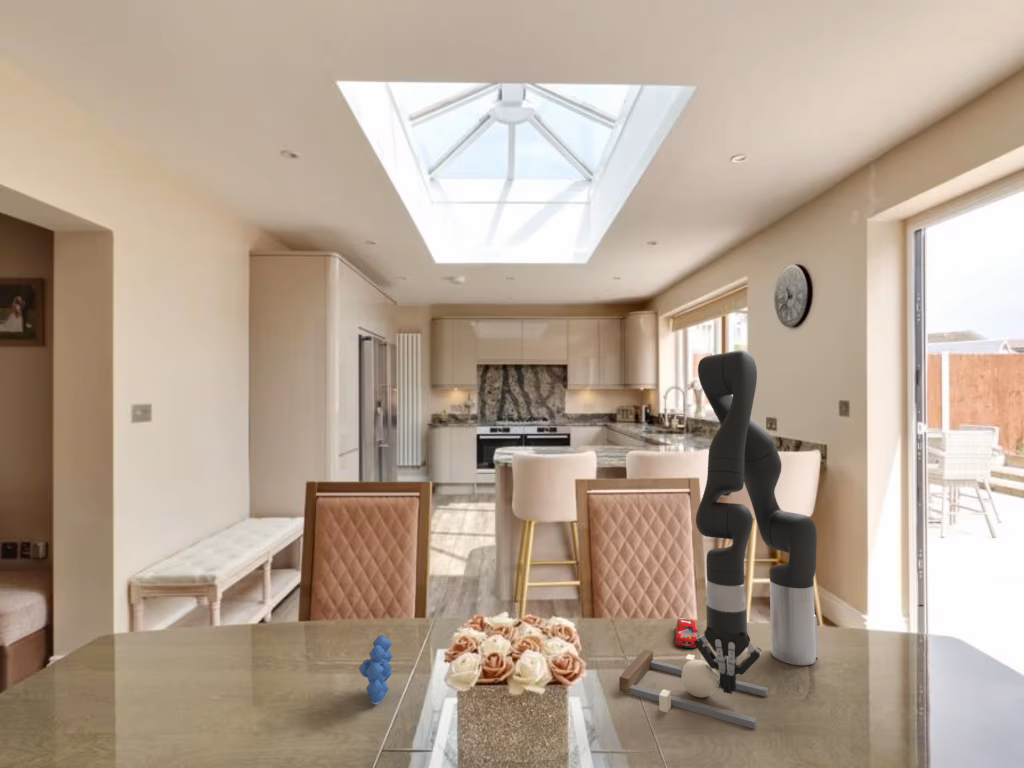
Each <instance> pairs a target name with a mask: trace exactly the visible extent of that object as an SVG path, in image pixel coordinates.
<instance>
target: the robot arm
mask: <svg viewBox="0 0 1024 768" xmlns="http://www.w3.org/2000/svg"><path fill="white" fill-rule="evenodd" d="M757 369H758V368H757V364H756V361H755V359H754V357H753V356H752V354H751V353H750V352H748V351H747V350H743V349H741V350H733V351H729V352H728V351H727V352H724V353H718V354H711V355H707V356H703V358H701V359H700V360H699V362H698V366H697V376H698V381H699V383H700V386H701V388H702V392H703V393H704V395H705V397H706V398H707V400H708V402H709V404H710V406H711V408H712V411H713V412H714V415H716V418H717V420H718V422H719V424H720V427H719V429H718V430H717V431H716V433H715V435H714V436H713V439H712V441H711V443H710V445H709V450H708V457H707V459H708V460H707V476H706V483H705V488H704V491H703V495H702V498H701V501H700V502H699V505H698V507H697V512H696V515H695V524H696V528H697V530H698V531H699V533H700V534H701V536H703V537H708V538H714V539H715V538H716V539H725V540H726V539H727V540H732V543H731V546H726V547H720V548H719V547H717V548H713V549H710V550H708V552H707V554H706V587H705V607H706V609H705V610H706V611H705V613H706V614H705V615H706V629H705V630H704V633H703V634H702V635H697V638H696V639H695V641H694V644H695V646H696V647H695V648H697V650H698V651H699V653H700V654H701V655H702V657H703V659H704V660H705V662H706V663H708V664H709V666H710V667H711V668H713V669H714V670H715V669H716V670H717V671H718V672H719V676H720V685H719V687H720V689H721V690H723V691H722V692H723V693H726V694H730V695H732V693H733V692H735V690H736V689H735V688H736V680H737V675H739V676H741V675H744V674H745V673H746V672H747V671H748V670H749V669H750V668H751V667H752V665H754V664H755V663H756V662H757V660H758V659H759V658H760V656H761V654H762V649H761V648H760V647H756V646H755V645H754V644H753V643H751V638H750V636H749V634H748V623H747V622H748V619H747V616H748V615H747V592H746V584H745V557H746V550H747V545H748V541H749V538H750V535H751V532H752V529H753V528H752V527H753V523H754V521H753V520H754V518H753V514H754V516H755V520H756V523H757V528H758V530H759V534H760V536H761V539H762V541H763V542H764V543H765V545H766V546H767V547H769V548H770V549H773V550H776V551H780V552H783V553H788V562H787V563H779V564H776V565H773V566H771V567H770V568H769V598H770V600H769V601H770V604H769V605H770V608H769V609H770V643H771V644H770V645H771V646H770V648H771V651H770V652H771V655H772V657H774V658H775V659H777V660H778V661H780V662H783V663H786V664H789V665H794V666H810V665H813V664H815V663H816V661H817V659H816V658H818V657H819V651H818V650H819V649H818V648H819V647H818V644H819V643H818V618H817V615H816V614H815V613H816V612H815V585H814V583H815V581H814V579H815V574H816V569H817V544H818V543H817V542H818V541H817V540H818V538H817V537H818V535H817V527H816V524H815V522H814V520H813V518H811V517H810V516H808V515H806V514H800V513H795V512H791V511H790V512H789V511H784V510H782V509H781V507H780V506H779V503H778V501H777V498H776V495H775V491H776V487H777V484H778V482H779V478H780V475H781V473H782V467H783V466H782V460H781V457H780V455H779V451H778V448H777V447H776V444H775V442H774V438H773V437H772V436H771V434H769V432H768V431H767V430H766V429H765V428H764V427H763V426H761V425H760V424H759V423H758V422H757V421H756V420H755V419H753V418H752V417H751V415H752V410H753V407H754V405H753V404H754V399H755V393H756V390H757V380H758V370H757ZM744 486H745V488H746V491H747V494H748V497H749V499H750V502H751V506H752V509H753V512H754V513H753V514H752V513H751V510H750V509H749V508H748V507H747V506H746V505H745V504H742V503H733V502H731V503H729V502H718V500H719V499H720V497H721V496H723V495H725V494H730V493H737V492H740V491H742V490H743V488H744ZM709 645H710V646H709ZM710 647H711V648H712V649H713V651H714V652H715V653H716V655H715V653H714V652H713V651H712V649H711V648H710ZM745 650H747V651H746V655H747V656H746V657H745V658H744V660H743V661H741V663H739V664H738V657H739V656H740V655H741V654H742V653H743V652H744V651H745Z"/></svg>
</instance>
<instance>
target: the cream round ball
mask: <svg viewBox="0 0 1024 768" xmlns="http://www.w3.org/2000/svg"><path fill="white" fill-rule="evenodd" d="M682 667H683V669H682V674H681V675H680V677H681V683H682V686H683V688H684V689H685V690H686V692H687V693H688V694H690V695H692V696H693V697H696V698H706V697H709V696H711V695H712V694H714V693H715V692H716V691H717V690H718V689H719V687H720V685H719V678H718V676H719V675H718V674H717V672H716V670H715V668H711V667H710V666H709V664H708V663H707V661H704V660H702V659H695V660H691V661H688V662H687V663H686V664H684V665H683V666H682Z"/></svg>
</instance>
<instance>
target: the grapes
mask: <svg viewBox="0 0 1024 768" xmlns="http://www.w3.org/2000/svg"><path fill="white" fill-rule="evenodd" d="M372 644H373V647H372V649H371V650H370V651H369V653H368V655H369V659H368V658H367V659H365V660H364V661H363V662H362V663H361V664H360V666H359V667H358V669H359V672H360V674H361V676H363V677H365V678H366V679H367V680H368V684H367V686H366V687H365V688H366V691H367V693H368V698H369V699H370V701H371V703H373V702H374V703H377V702H379V701H380V702H381V701H382V700H383V699H384V697H385V695H386V693H387V692H388V690H389V687H388V684H387V683H386V682H387V680H388V679H389V678H390V677H391V675H392V672H391V669H392V665H391V664H390V661H391V660H392V659H393V655H392V652H391V651H390V649H391V647H392V642H391V640H390V639H389V638H388V637H387V636H385V635H383V634H379V635H378V636H377V637H376V638H375V640H374V641H373V642H372ZM380 702H379V703H380ZM374 703H373V704H374Z"/></svg>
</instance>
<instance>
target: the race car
mask: <svg viewBox="0 0 1024 768" xmlns="http://www.w3.org/2000/svg"><path fill="white" fill-rule="evenodd" d="M697 628H698V627H697V624H696V621H695V620H694V619H692V618H683V617H681V618H678V619H677V620H676V624H675V628H674V630H675V646H678V647H681V648H687V649H695V648H697V647H696V646H695V644H694V641H695V639H696V638H697V637H698V632H699V630H698V629H697Z"/></svg>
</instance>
